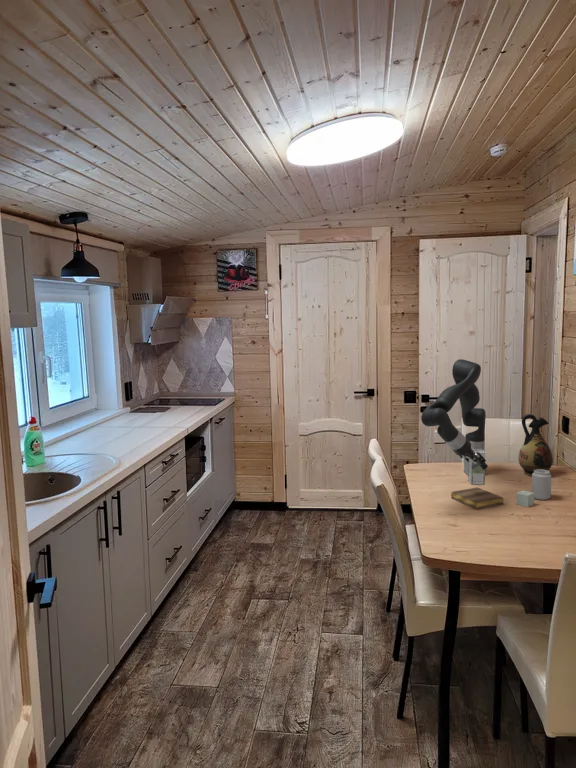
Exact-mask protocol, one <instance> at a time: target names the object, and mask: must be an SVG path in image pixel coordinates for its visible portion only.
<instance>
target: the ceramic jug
mask: <svg viewBox="0 0 576 768" xmlns="http://www.w3.org/2000/svg"><path fill="white" fill-rule="evenodd" d="M529 419H531V420H532V421H531V422H530V423H529V424H528V428H531V432H530V433H529V430H528V428H527V424H526V421H527V420H529ZM521 425H522V428H523V431H524V434H525V437H524V442H523V443H522V445H521V446H520V449H519V452H518V458H517V459H518V464H519V466H520V468H522V470H523V471H524V475H528V476H530V477H532V474H533V473H534V470H537V469H543V470H548V471H549V470H550V469H551V467H552V466H553V464H554V463H553V460H554V458H553V453H552V450H551V447H550V445H549V444H548V443H547V441H546V440H545V438H544V437H543V435H542V434H541V431H540V429H541V428H542V427H544V426H547V425H549V422H548V421H547V419H545V418H543V417H539V418H538V419H537V417H536V416H535V415H534V414H533V413H532V414H531V413H527V414H524V415H523V416H522V418H521Z"/></svg>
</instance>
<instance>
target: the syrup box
mask: <svg viewBox="0 0 576 768" xmlns="http://www.w3.org/2000/svg"><path fill="white" fill-rule="evenodd" d="M472 450H474V452H475V453H476V452H479V453H480V454H481V455H482V457H483V458H484V459H485V460H486V451H485V452H484V451H483V450H482V449H472ZM473 459H474V460H475V458H473ZM467 477H468V479H467V480H468V483H469V484H470V485H471V486H485V484H486V470H484V469H483V468H482V467H481V466H480V465H479V464H478V463H476V462H473V461H472V460H470V459H469V465H468V476H467Z"/></svg>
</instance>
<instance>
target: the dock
mask: <svg viewBox="0 0 576 768" xmlns="http://www.w3.org/2000/svg"><path fill="white" fill-rule="evenodd" d="M450 496H451V499H452V500H454V501H456V502H458V503H461V504H463V505H465V506H467V507H470V508H472V509H474V510H476V511H477V510H478V511H479V510H481V509H482V510H483V509H487V508H493V507H496V506H501V505H502V506H503V505H504V496H500V495H498V494H496V493H493V492H490V491H488V490H485V489H483V488H481V487H479V486H477V487H471V488H466V489H461V490H454V491H451V492H450Z"/></svg>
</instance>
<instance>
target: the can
mask: <svg viewBox="0 0 576 768" xmlns="http://www.w3.org/2000/svg"><path fill="white" fill-rule="evenodd" d="M531 492H532V493H534V500H537V501H539V500H540V501H548V500H550V499H551V497H552V475H551V472H550V471H549V470H543V469H537V470H534V473H533V474H532V476H531Z"/></svg>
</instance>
